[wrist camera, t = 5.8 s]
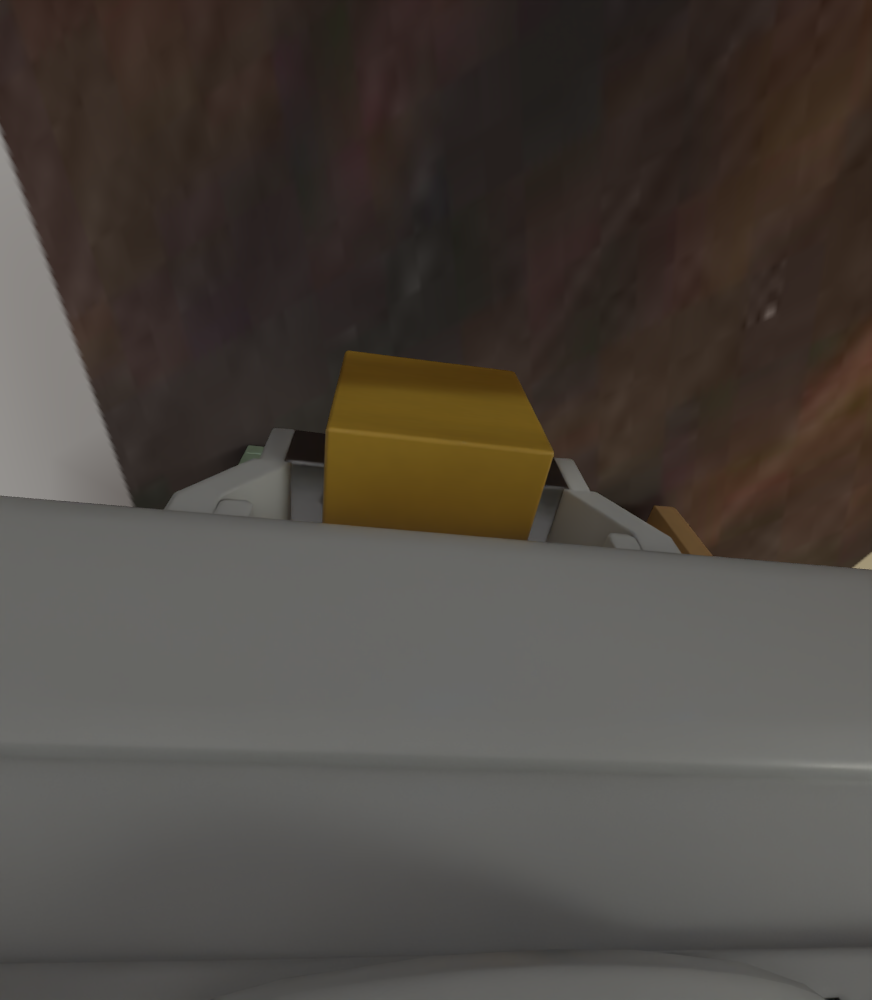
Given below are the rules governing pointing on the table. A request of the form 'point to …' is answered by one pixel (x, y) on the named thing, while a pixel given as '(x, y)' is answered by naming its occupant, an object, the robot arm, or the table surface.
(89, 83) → the table surface
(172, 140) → the table surface
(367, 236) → the table surface
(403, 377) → the block
